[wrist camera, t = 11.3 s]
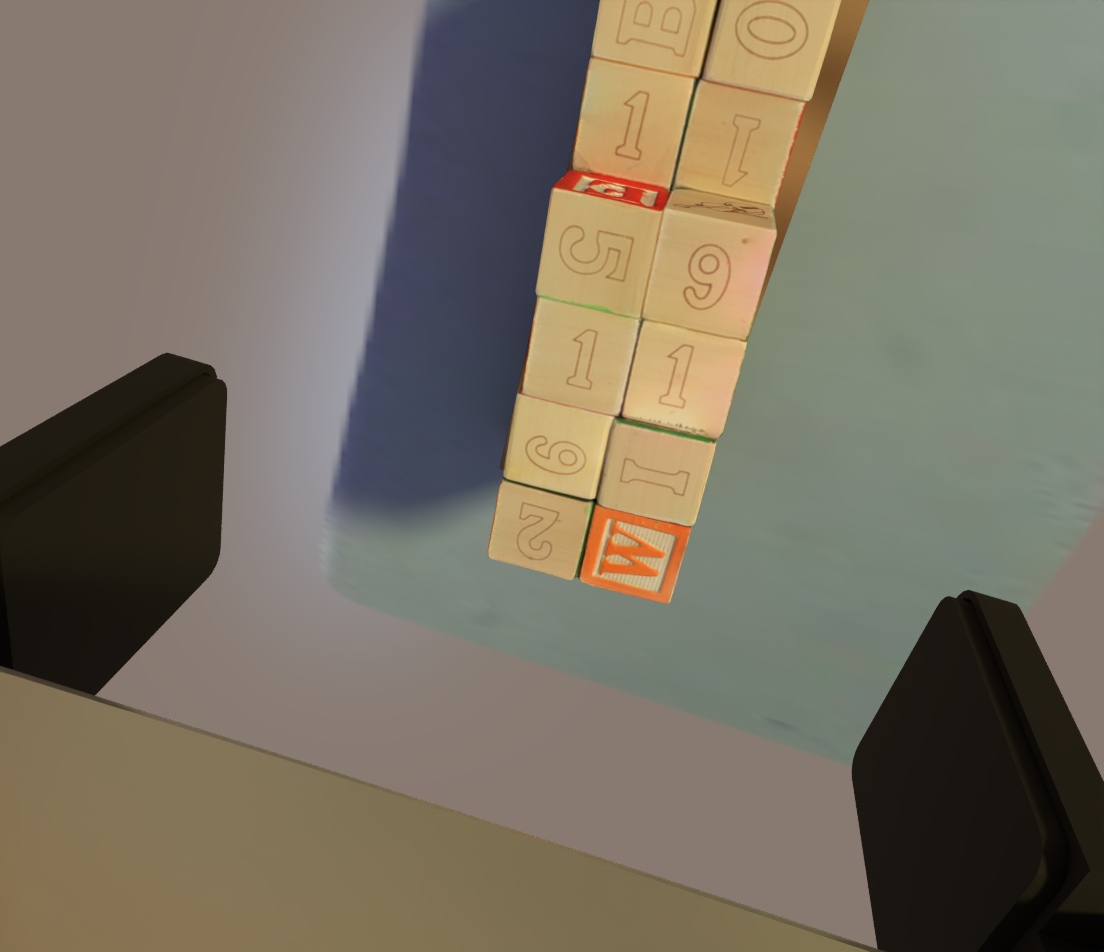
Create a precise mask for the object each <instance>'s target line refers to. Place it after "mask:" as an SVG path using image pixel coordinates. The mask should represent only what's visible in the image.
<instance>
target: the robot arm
mask: <svg viewBox="0 0 1104 952" xmlns="http://www.w3.org/2000/svg"><path fill="white" fill-rule="evenodd" d="M226 407H227V388H226V384H225V383H224V382H223V380H219V379H217V375H216V372H215V369H214V368H213V367H212V366H211V365H208V364H204V363H201V362H198V361H194V360H191V359H188V358H184V357H181V356H177V355H174V354H170V353H165V354H162V355H160V356H158V357H156V358H154V359H153V360H151V361H149V362H148V363H146V364H144V365H142V366H140V367H139V368H137V369H135V370H133V371H132V372H130V373H128V374H127V375H125V376H123V377H121V378H120V379H118V380H116V381H114V382H112V383H111V384H109V385H107V386H105V387H104V388H102V389H100V390H98V391H97V392H95V393H93V394H91V395H90V396H88V397H86V398H85V399H83V400H81V401H79V402H77V403H76V404H74V405H72V406H70V407H69V408H67V409H65V410H63V411H62V412H60V413H58V414H56V415H55V416H53V417H51V418H50V419H48V420H46V421H44V422H43V423H41V424H39V425H37V426H35V427H34V428H32V429H30V430H28V431H27V432H25V433H23V434H21V435H20V436H18V437H16V438H15V439H13V440H11V441H9V442H7V443H6V444H4V445H2V446H1V447H0V952H1104V781H1103V779H1102V777H1101V775H1100V773H1099V771H1098V769H1097V767H1096V765H1095V763H1094V761H1093V758H1092V756H1091V754H1090V752H1089V750H1088V748H1087V746H1086V744H1085V742H1084V740H1083V738H1082V736H1081V734H1080V731H1079V729H1078V727H1077V725H1076V723H1075V721H1074V719H1073V717H1072V715H1071V713H1070V711H1069V709H1068V707H1067V705H1066V702H1065V701H1064V698H1063V697H1062V694H1061V692H1060V690H1059V688H1058V686H1057V684H1056V682H1055V680H1054V678H1053V675H1052V673H1051V671H1050V669H1049V667H1048V665H1047V663H1046V661H1045V659H1044V657H1043V655H1042V653H1041V651H1040V648H1039V646H1038V644H1037V642H1036V640H1035V638H1034V636H1033V634H1032V632H1031V630H1030V628H1029V626H1028V624H1027V621H1026V619H1025V617H1024V615H1023V613H1022V611H1021V609H1020V608H1019V607H1018V605H1017V604H1014V603H1011V602H1008V601H1004V600H1001V599H998V598H994V597H991V596H988V595H984V594H981V593H977V592H974V591H971V590H967V591H963V592H962V593H961V594H960V595H959V596H958V597H957V598H953V597H950V596H948V597H945V598H944V599H943V600H942V601H941V602H940V603H939V605H938V606H937V608H936V610H935V611H934V613H933V615H932V617H931V618H930V620H929V622H928V624H927V625H926V627H925V629H924V631H923V632H922V634H921V636H920V638H919V640H918V641H917V643H916V645H915V647H914V648H913V650H912V652H911V654H910V655H909V657H908V659H907V661H906V662H905V664H904V666H903V668H902V669H901V671H900V673H899V675H898V677H897V678H896V680H895V682H894V684H893V685H892V687H891V689H890V691H889V692H888V694H887V696H886V698H885V699H884V701H883V703H882V705H881V706H880V708H879V710H878V712H877V714H876V715H875V717H874V719H873V721H872V722H871V724H870V726H869V728H868V729H867V731H866V733H865V735H864V736H863V738H862V740H861V742H860V743H859V745H858V747H857V750H856V752H855V755H854V759H853V764H852V781H853V788H854V794H855V801H856V808H857V815H858V821H859V828H860V835H861V841H862V848H863V855H864V861H865V868H866V874H867V881H868V888H869V894H870V901H871V908H872V915H873V921H874V928H875V935H876V941H877V948H878V949H876V948H873V947H870V946H867V945H864V944H861V943H858V942H855V941H852V940H849V939H846V938H843V937H840V936H837V935H834V934H831V933H828V932H825V931H822V930H819V929H816V928H813V927H810V926H807V925H804V924H801V923H798V922H795V921H792V920H789V919H786V918H783V917H779V916H776V915H773V914H770V913H767V912H764V911H761V910H758V909H755V908H752V907H749V906H746V905H743V904H740V903H737V902H734V901H731V900H728V899H725V898H722V897H719V896H716V895H713V894H710V893H707V892H704V891H700V890H697V889H694V888H691V887H688V886H685V885H682V884H679V883H676V882H673V881H670V880H667V879H664V878H661V877H658V876H655V875H652V874H649V873H646V872H643V871H640V870H637V869H634V868H631V867H627V866H625V865H622V864H618V863H615V862H612V861H609V860H606V859H603V858H600V857H597V856H594V855H591V854H588V853H585V852H582V851H579V850H575V849H573V848H569V847H566V846H563V845H560V844H557V843H554V842H551V841H548V840H545V839H542V838H539V837H535V836H532V835H529V834H526V833H523V832H520V831H517V830H514V829H511V828H508V827H505V826H501V825H499V824H495V823H492V822H489V821H486V820H483V819H480V818H477V817H474V816H471V815H468V814H465V813H461V812H458V811H455V810H452V809H449V808H446V807H443V806H439V805H436V804H433V803H430V802H427V801H424V800H421V799H418V798H415V797H412V796H408V795H405V794H402V793H399V792H396V791H393V790H390V789H387V788H384V787H381V786H377V785H374V784H371V783H368V782H365V781H362V780H359V779H356V778H353V777H350V776H347V775H343V774H340V773H337V772H334V771H331V770H328V769H325V768H321V767H319V766H315V765H312V764H309V763H306V762H303V761H300V760H296V759H293V758H290V757H287V756H284V755H280V754H278V753H274V752H271V751H268V750H265V749H262V748H258V747H255V746H252V745H249V744H246V743H243V742H240V741H236V740H233V739H230V738H227V737H224V736H221V735H217V734H214V733H211V732H208V731H205V730H202V729H199V728H195V727H192V726H189V725H186V724H182V723H180V722H176V721H173V720H170V719H167V718H163V717H160V716H157V715H154V714H151V713H148V712H145V711H142V710H138V709H135V708H132V707H129V706H126V705H123V704H120V703H116V702H113V701H110V700H107V699H103V698H100V697H97V696H95V695H96V694H97V693H98V692H99V691H100V690H101V689H102V688H103V687H104V686H105V685H106V683H107V682H108V681H109V680H110V679H111V678H112V677H113V676H114V675H115V674H116V673H117V672H118V671H119V670H120V669H121V668H122V667H123V666H124V665H125V664H126V663H127V662H128V661H129V660H130V658H131V657H132V656H133V655H134V654H135V653H136V652H137V651H138V650H139V649H140V648H141V647H142V646H143V645H144V644H145V643H146V642H147V641H148V640H149V639H150V638H151V636H152V635H153V634H154V633H155V632H156V631H157V630H158V629H159V628H160V627H161V626H162V625H163V624H164V623H165V622H166V621H167V620H168V619H169V618H170V617H171V616H172V615H173V614H174V613H175V612H176V610H178V608H179V607H180V606H181V605H182V604H183V603H184V602H185V601H186V600H187V599H188V598H189V597H190V596H191V595H192V594H193V593H194V592H195V591H196V590H197V589H198V588H199V587H200V586H201V585H202V583H203V582H204V581H205V580H206V579H207V578H208V577H209V576H210V575H211V573H212V572H213V570H214V568H215V566H216V564H217V561H218V558H219V555H220V546H221V524H222V501H223V478H224V476H223V475H224V454H225V452H224V451H225V431H226V429H225V428H226Z"/></svg>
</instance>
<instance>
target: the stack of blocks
mask: <svg viewBox="0 0 1104 952" xmlns="http://www.w3.org/2000/svg"><path fill="white" fill-rule="evenodd" d="M840 3H841V0H600V3H599V9H598V15H597V20H596V26H595V32H594V38H593V44H592V50H591V57H590V61H589V65H588V69H587V73H586V81H585V86H584V91H583V98H582V104H581V110H580V117H579V123H578V130H577V136H576V142H575V148H574V155H573V170H570V171H568V172H567V173H566V174H565V175H564V176H563V177H562V178H561V179H560V180H559V181H558V182H557V183H555V184H554V185H553V187H552V190H551V196H550V202H549V209H548V215H547V221H546V227H545V233H544V239H543V246H542V253H541V259H540V266H539V272H538V278H537V284H536V290H535V291H536V295H537V303H536V308H535V313H534V318H533V324H532V330H531V336H530V342H529V349H528V355H527V360H526V366H525V372H524V378H523V385H522V386H521V388H520V389H519V391H518V393H517V396H516V401H515V407H514V413H513V419H512V425H511V431H510V437H509V443H508V449H507V454H506V460H505V465H504V470H503V475H504V476H503V478H502V481H501V484H500V486H499V492H498V498H497V503H496V509H495V514H494V519H493V525H492V530H491V535H490V541H489V547H488V557H490V558H491V559H494V560H498V561H502V562H506V563H510V564H513V565H517V566H521V567H525V568H528V569H532V570H536V571H539V572H543V573H547V574H550V575H553V576H557V577H560V578H563V579H567V580H573V579H574V578H576V577H578V578H579V580H580V581H582V582H584V583H587V584H589V585H592V586H596V587H600V588H604V589H608V590H612V591H616V592H620V593H624V594H628V595H632V596H636V597H640V598H644V599H648V600H652V601H656V602H661V603H670V601H671V597H672V594H673V591H674V587H675V584H676V580H677V577H678V573H679V570H680V566H681V563H682V560H683V557H684V553H685V550H686V547H687V543H688V540H689V537H690V533H691V526H692V525H694V524H695V522H696V518H697V514H698V511H699V507H700V504H701V500H702V496H703V492H704V489H705V485H706V481H707V478H708V474H709V470H710V467H711V463H712V459H713V455H714V452H715V447H716V440H717V438H718V437H719V436H721V435H722V433H723V432H724V428H725V424H726V421H727V418H728V414H729V410H730V406H731V402H732V399H733V396H734V392H735V388H736V385H737V381H738V378H739V374H740V370H741V367H742V363H743V359H744V356H745V351H746V345H747V338H748V335H749V332H750V330H751V327H752V323H753V319H754V316H755V312H756V309H757V305H758V301H759V298H760V294H761V290H762V287H763V283H764V280H765V276H766V273H767V269H768V265H769V262H770V258H771V254H772V251H773V247H774V244H775V241H776V237H777V229H776V222H775V213H774V209H775V206H776V204H777V200H778V196H779V193H780V190H781V186H782V183H783V180H784V176H785V173H786V170H787V166H788V163H789V160H790V156H791V153H792V149H793V146H794V143H795V140H796V136H797V133H798V130H799V127H800V123H801V120H802V116H803V113H804V110H805V107H806V103H807V102H808V101H809V100H811V99H812V96H813V93H814V90H815V87H816V83H817V80H818V77H819V74H820V70H821V67H822V64H823V61H824V58H825V54H826V51H827V48H828V45H829V41H830V38H831V34H832V31H833V27H834V24H835V21H836V17H837V14H838V10H839V7H840Z"/></svg>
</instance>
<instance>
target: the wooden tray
mask: <svg viewBox="0 0 1104 952" xmlns="http://www.w3.org/2000/svg"><path fill="white" fill-rule="evenodd" d="M868 3H869V0H841V3H840V7H839V10H838V14H837V17H836V21H835V24H834V27H833V31H832V34H831V38H830V41H829V45H828V48H827V51H826V54H825V58H824V61H823V64H822V67H821V70H820V74H819V77H818V80H817V83H816V87H815V90H814V93H813V96H812V99H811V100H809V101H808V102H807V103H806V107H805V110H804V113H803V116H802V120H801V123H800V127H799V130H798V133H797V136H796V140H795V143H794V146H793V149H792V153H791V156H790V160H789V163H788V166H787V170H786V173H785V176H784V180H783V183H782V186H781V190H780V193H779V196H778V200H777V204H776V206H775V209H774V213H775V222H776V229H777V237H776V241H775V244H774V247H773V251H772V254H771V258H770V262H769V265H768V269H767V273H766V276H765V280H764V283H763V287H762V290H761V294H760V298H759V301H758V305H757V309H756V312H755V316H754V319H753V323H752V326H753V324H754V321H755V318H756V315H757V312H758V310H759V307H760V304H761V301H762V298H763V296H764V293H765V290H766V287H767V284H768V282H769V279H770V276H771V273H772V271H773V268H774V265H775V262H776V259H777V257H778V254H779V251H780V248H781V245H782V243H783V240H784V237H785V234H786V231H787V229H788V226H789V223H790V220H791V217H792V215H793V212H794V209H795V206H796V204H797V201H798V198H799V195H800V192H801V190H802V187H803V184H804V181H805V178H806V176H807V173H808V170H809V167H810V164H811V162H812V159H813V156H814V153H815V150H816V148H817V145H818V142H819V139H820V137H821V134H822V131H823V128H824V125H825V123H826V120H827V117H828V114H829V111H830V109H831V106H832V103H833V100H834V97H835V95H836V92H837V89H838V86H839V83H840V81H841V78H842V75H843V72H844V70H845V67H846V64H847V61H848V58H849V56H850V53H851V50H852V47H853V44H854V42H855V39H856V36H857V33H858V30H859V28H860V25H861V22H862V19H863V17H864V14H865V11H866V8H867V5H868ZM578 123H579V121H578ZM577 130H578V125H577ZM577 130H576V134H575V139H574V143H573V147H572V152H571V156H570V161H569V165H568V169H567V172H568V171H570V170H573V155H574V148H575V142H576V136H577ZM751 329H752V327H751ZM531 330H532V328H531ZM750 332H751V330H750ZM750 332H749V335H750ZM749 335H748V338H749ZM530 336H531V332H530ZM748 338H747V340H748ZM529 342H530V337H529V341H528V346H527V350H526V354H525V359H524V363H523V368H522V372H521V376H520V381H519V385H518V390H517V393H518V391H519V389H520V388H521V386H522V385H523V378H524V372H525V366H526V360H527V355H528V349H529ZM516 396H517V394H516ZM515 401H516V398H515ZM514 407H515V403H514ZM514 407H513V412H512V416H511V421H510V425H509V429H508V434H507V438H506V443H505V447H504V451H503V456H502V460H501V465H500V469H503V470H504V465H505V460H506V454H507V449H508V443H509V437H510V431H511V425H512V419H513V413H514Z"/></svg>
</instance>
